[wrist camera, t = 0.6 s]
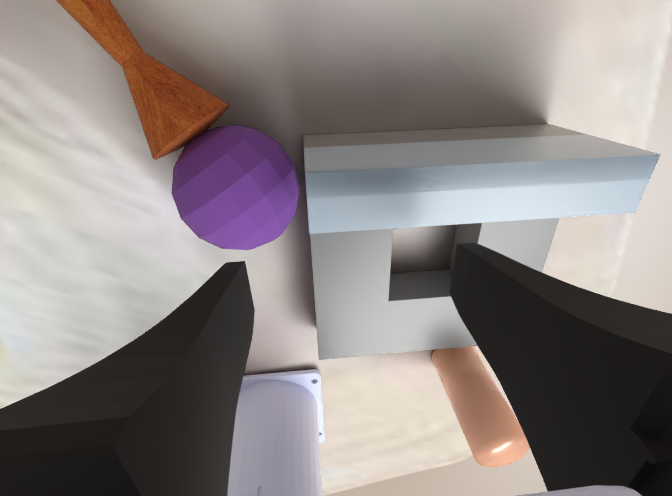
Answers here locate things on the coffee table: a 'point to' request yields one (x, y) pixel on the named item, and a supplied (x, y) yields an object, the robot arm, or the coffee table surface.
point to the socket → (443, 218)
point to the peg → (480, 407)
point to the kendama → (200, 144)
